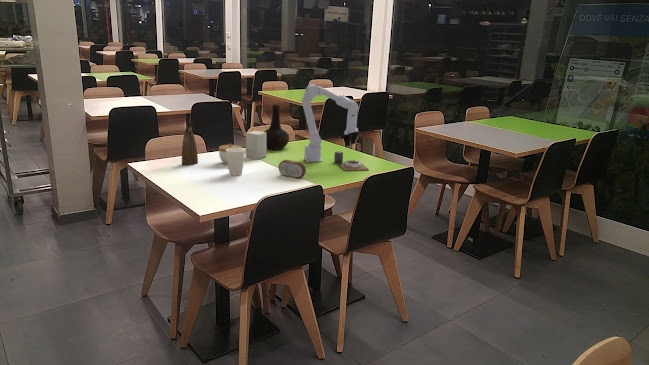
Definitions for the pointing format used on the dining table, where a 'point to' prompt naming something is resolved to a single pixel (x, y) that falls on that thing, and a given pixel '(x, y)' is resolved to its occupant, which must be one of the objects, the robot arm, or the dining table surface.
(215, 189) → the dining table surface
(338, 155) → the dark grey cylinder peg
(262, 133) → the supplement box
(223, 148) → the lidded bowl
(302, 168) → the tin
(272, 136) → the dark vase
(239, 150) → the foam cup
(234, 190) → the dining table surface
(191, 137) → the statue
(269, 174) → the dining table surface
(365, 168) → the octagonal socket plate
